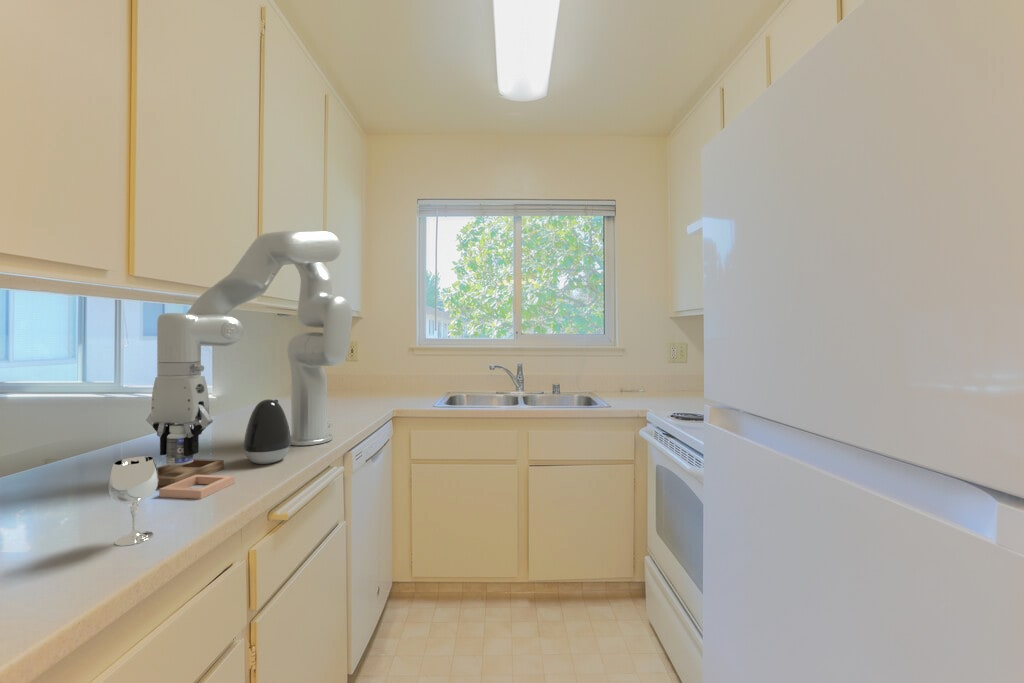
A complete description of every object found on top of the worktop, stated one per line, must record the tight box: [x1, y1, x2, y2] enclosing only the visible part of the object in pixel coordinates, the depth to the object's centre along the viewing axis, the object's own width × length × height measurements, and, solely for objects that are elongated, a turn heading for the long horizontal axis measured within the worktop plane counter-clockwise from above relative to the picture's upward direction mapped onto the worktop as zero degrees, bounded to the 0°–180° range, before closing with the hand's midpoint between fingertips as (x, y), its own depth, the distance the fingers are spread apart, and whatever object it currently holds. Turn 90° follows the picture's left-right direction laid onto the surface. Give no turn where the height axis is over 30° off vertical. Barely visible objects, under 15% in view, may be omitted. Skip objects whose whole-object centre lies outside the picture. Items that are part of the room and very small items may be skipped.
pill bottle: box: [165, 423, 195, 466], centre depth 94 cm, size 5×5×8 cm
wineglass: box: [108, 455, 159, 547], centre depth 66 cm, size 6×6×12 cm
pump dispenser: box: [243, 399, 292, 465], centre depth 106 cm, size 10×10×15 cm
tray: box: [157, 458, 225, 489], centre depth 94 cm, size 13×10×2 cm
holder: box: [158, 474, 235, 500], centre depth 87 cm, size 9×9×2 cm
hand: (179, 453), depth 94 cm, fingers closed on pill bottle, 4 cm apart
